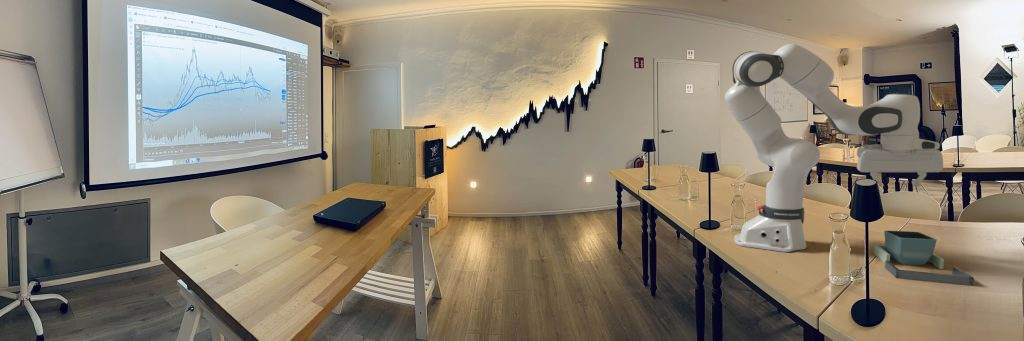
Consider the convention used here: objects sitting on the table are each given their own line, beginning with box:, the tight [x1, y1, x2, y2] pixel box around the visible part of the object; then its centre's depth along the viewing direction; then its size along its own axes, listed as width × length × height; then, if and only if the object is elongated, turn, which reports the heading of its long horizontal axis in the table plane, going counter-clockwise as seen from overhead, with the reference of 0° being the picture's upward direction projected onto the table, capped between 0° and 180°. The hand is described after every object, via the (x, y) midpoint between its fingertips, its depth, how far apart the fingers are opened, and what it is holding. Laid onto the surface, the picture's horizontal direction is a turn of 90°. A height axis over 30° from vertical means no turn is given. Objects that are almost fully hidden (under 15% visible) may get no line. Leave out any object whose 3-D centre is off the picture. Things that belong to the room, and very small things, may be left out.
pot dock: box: [884, 260, 974, 287], centre depth 111 cm, size 15×8×2 cm, turn 63°
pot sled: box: [873, 243, 945, 270], centre depth 123 cm, size 13×13×6 cm
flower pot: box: [883, 230, 937, 266], centre depth 121 cm, size 9×9×9 cm
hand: (896, 185), depth 129 cm, fingers open, 8 cm apart
